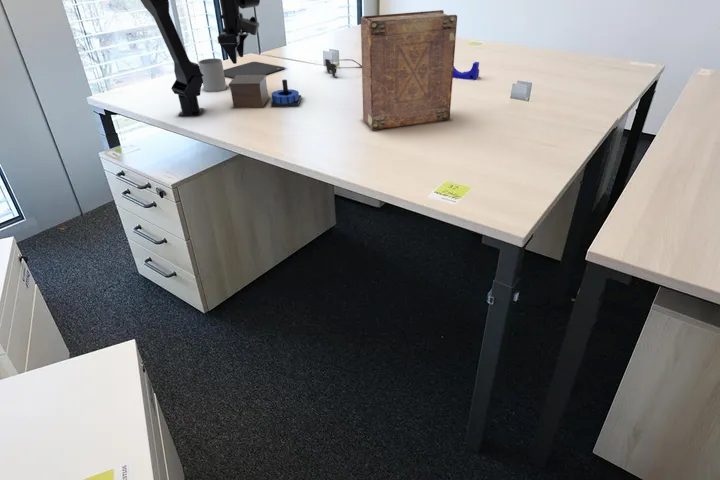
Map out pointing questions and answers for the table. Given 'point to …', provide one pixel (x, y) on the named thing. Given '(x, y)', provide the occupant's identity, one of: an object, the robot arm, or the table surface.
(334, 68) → the sunglasses
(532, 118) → the table surface
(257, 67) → the mouse pad
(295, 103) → the peg stand
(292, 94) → the ring
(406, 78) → the book
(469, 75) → the cable clip
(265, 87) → the box
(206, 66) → the cup
